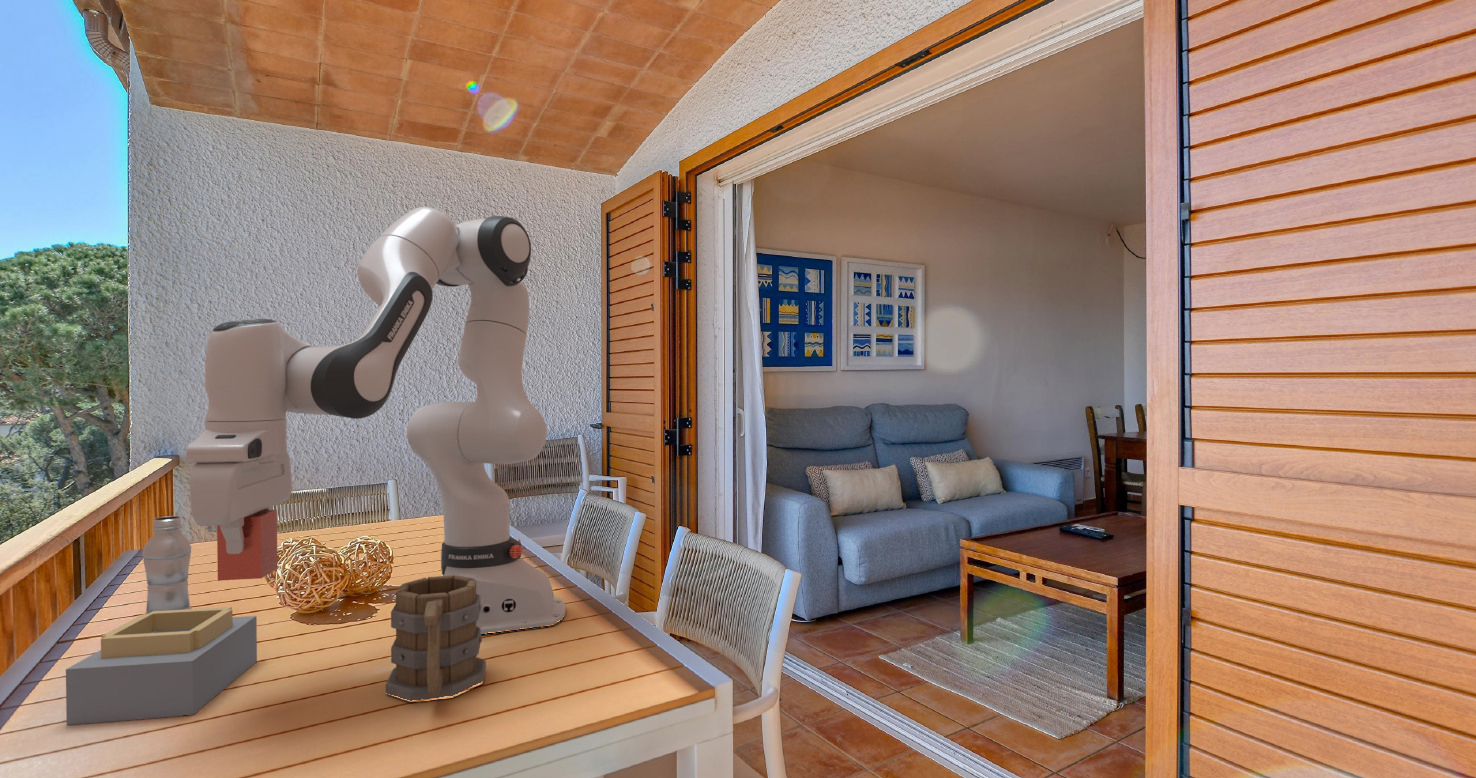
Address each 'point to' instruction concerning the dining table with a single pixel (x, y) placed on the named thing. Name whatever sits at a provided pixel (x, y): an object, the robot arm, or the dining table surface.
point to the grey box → (161, 666)
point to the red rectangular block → (250, 548)
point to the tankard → (436, 638)
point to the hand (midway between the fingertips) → (248, 546)
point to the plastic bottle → (167, 566)
